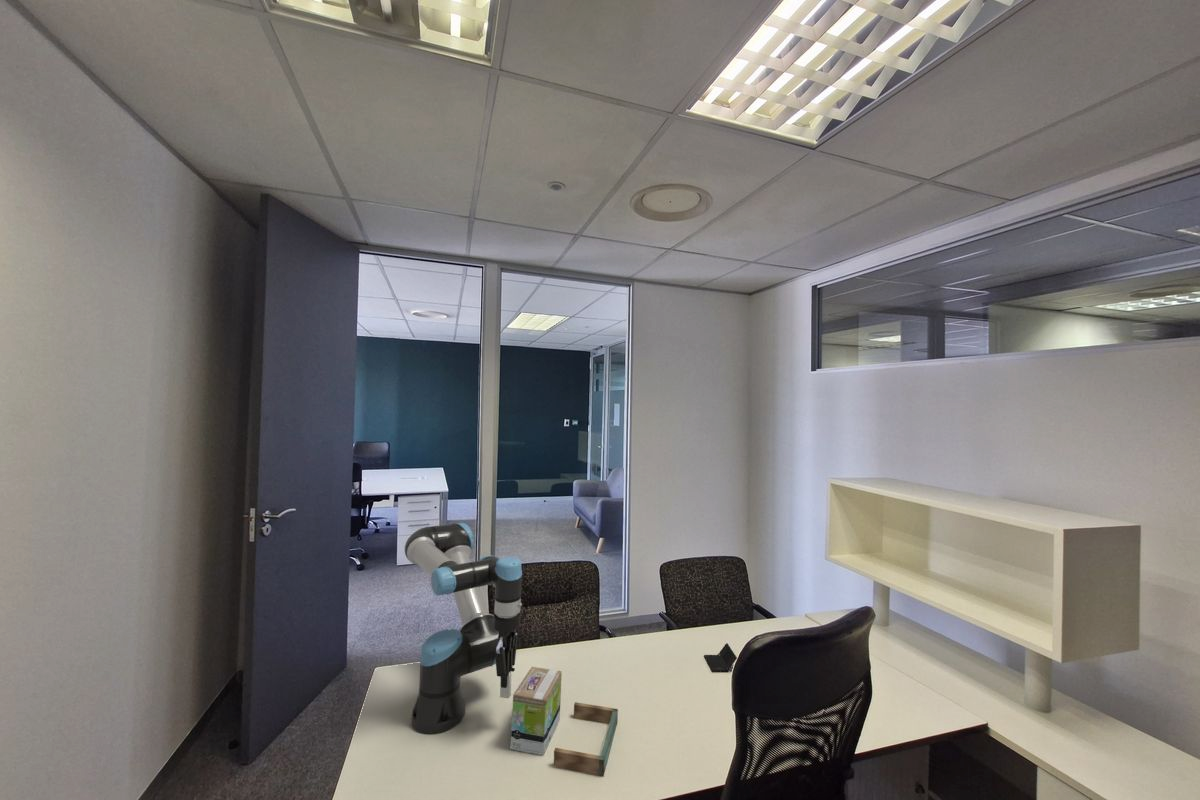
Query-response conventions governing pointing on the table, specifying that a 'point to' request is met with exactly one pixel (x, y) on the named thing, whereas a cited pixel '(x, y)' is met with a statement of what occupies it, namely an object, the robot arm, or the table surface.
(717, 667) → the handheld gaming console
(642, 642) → the table surface
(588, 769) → the bay
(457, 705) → the robot arm
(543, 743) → the tea box
